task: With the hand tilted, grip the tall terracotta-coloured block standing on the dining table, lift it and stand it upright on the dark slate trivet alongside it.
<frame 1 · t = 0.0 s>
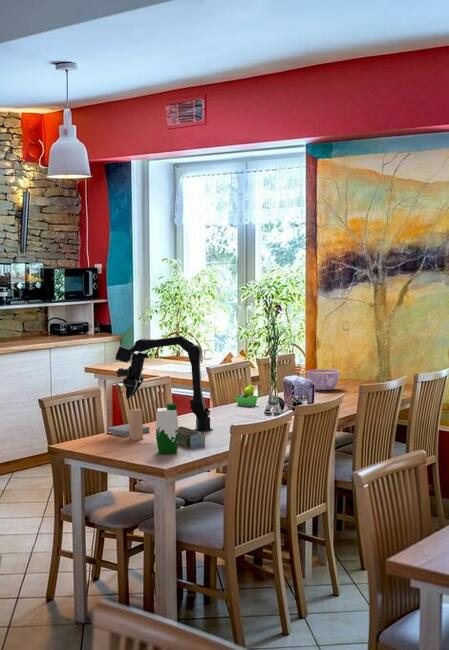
hand: (129, 397, 414), 15 cm above the table, tool pointing down, fingers open, 9 cm apart
block: (136, 438, 394), on the table
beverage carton: (186, 445, 380), on the table
trivet: (128, 432, 409), on the table
bowl of food: (323, 390, 531), on the table
milk carton: (167, 452, 364), on the table
fruit basket: (247, 405, 481), on the table
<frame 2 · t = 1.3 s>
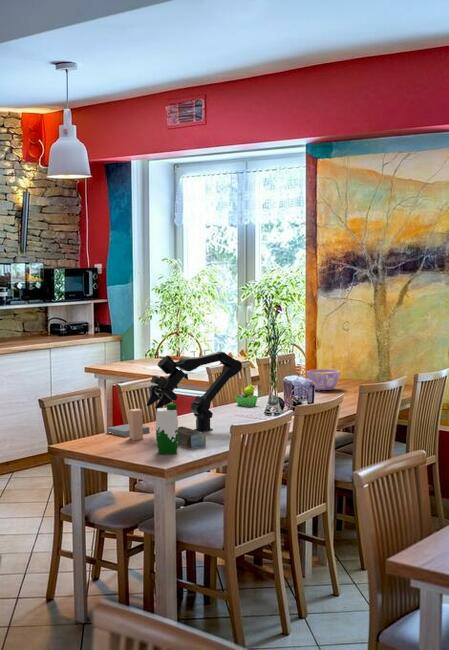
hand: (151, 407, 397), 13 cm above the table, tool tilted 45°, fingers open, 9 cm apart
nothing on the table moved.
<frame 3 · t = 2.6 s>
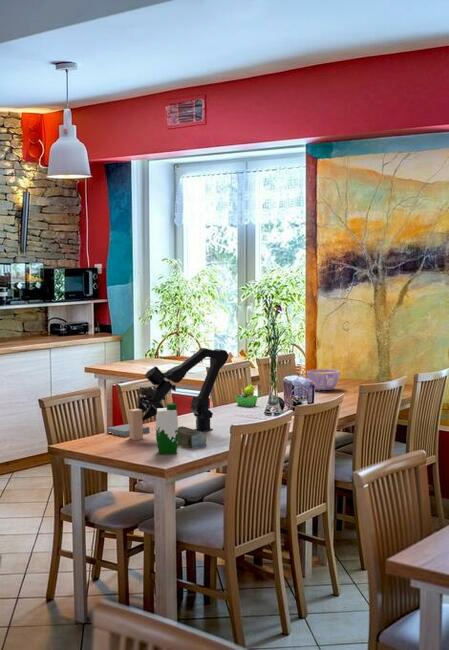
hand: (138, 418, 394), 9 cm above the table, tool tilted 45°, fingers open, 9 cm apart
nothing on the table moved.
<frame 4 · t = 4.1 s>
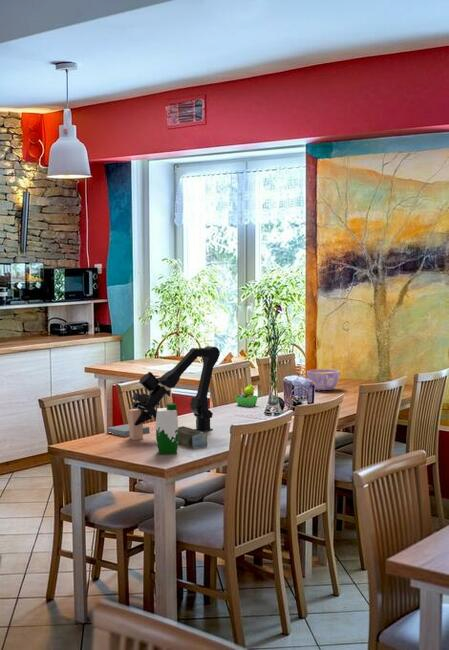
hand: (133, 424, 393), 7 cm above the table, tool tilted 45°, fingers closed on block, 4 cm apart
block: (136, 438, 394), on the table, touching gripper
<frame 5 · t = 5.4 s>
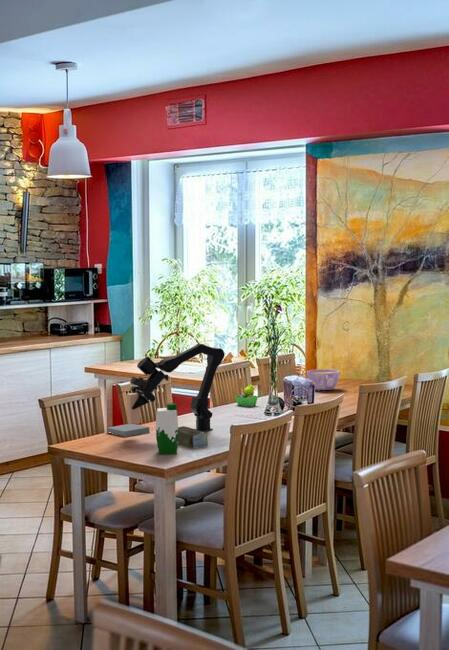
hand: (130, 408, 395), 13 cm above the table, tool tilted 45°, fingers closed on block, 4 cm apart
block: (133, 422, 396), point 7 cm above the table, touching gripper
when the fingers open (10 cm above the table, at t = 7.1 s): block stays where it is, resting on trivet.
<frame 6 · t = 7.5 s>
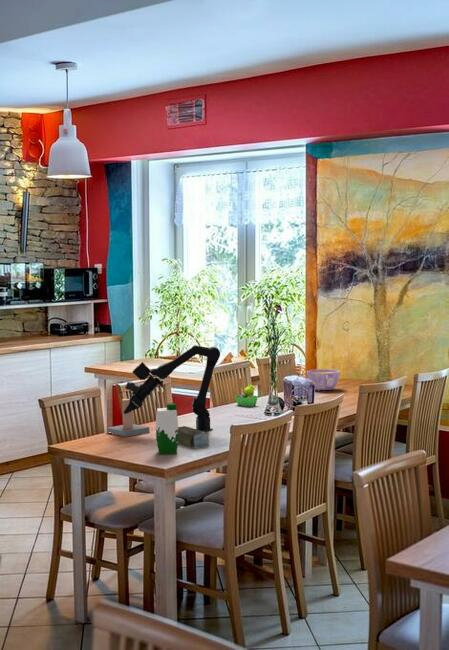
hand: (124, 411, 408), 10 cm above the table, tool tilted 45°, fingers open, 8 cm apart
block: (128, 427, 409), point 2 cm above the table, touching trivet
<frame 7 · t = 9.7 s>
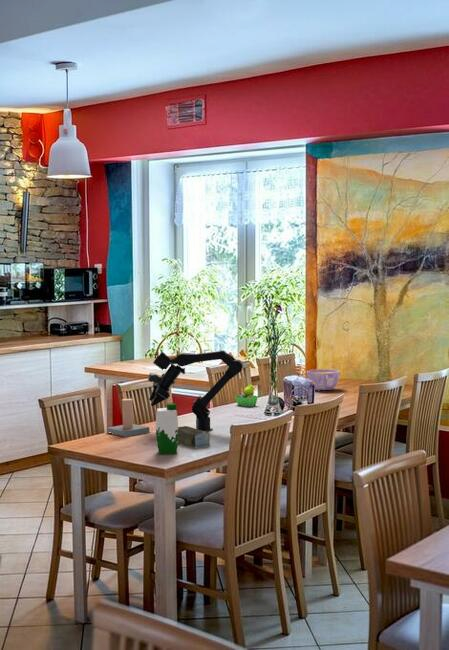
hand: (150, 402, 411), 13 cm above the table, tool tilted 40°, fingers open, 9 cm apart
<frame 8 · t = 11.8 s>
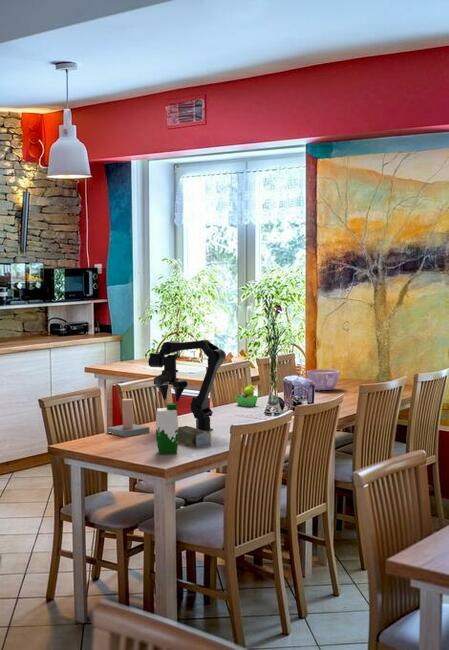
hand: (170, 400, 418), 13 cm above the table, tool pointing down, fingers open, 9 cm apart
at the end: block inside the target area on the trivet (0.0 cm from its centre), point 2.5 cm above the trivet's base; block tilted 0°; the gripper is holding nothing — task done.
